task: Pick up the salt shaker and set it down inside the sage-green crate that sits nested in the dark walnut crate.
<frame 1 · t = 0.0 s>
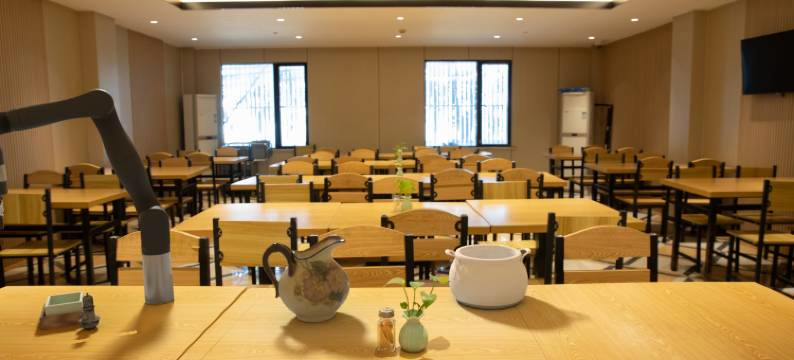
green crate: (66, 318, 191), point 1 cm above the table, touching walnut crate
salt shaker: (90, 331, 183), on the table
walnut crate: (66, 320, 191), on the table
pot: (487, 299, 206), on the table
pitcher: (313, 316, 192), on the table
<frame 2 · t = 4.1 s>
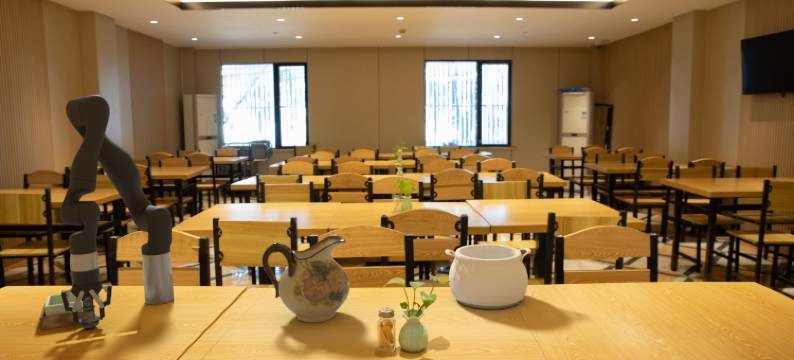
hand: (89, 320, 182), 3 cm above the table, fingers closed on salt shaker, 6 cm apart
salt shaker: (90, 331, 183), on the table, touching gripper
everything else where it was.
when the fingers open (7 cm above the table, at t = 9.2 s): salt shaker drops 3 cm, resting on green crate.
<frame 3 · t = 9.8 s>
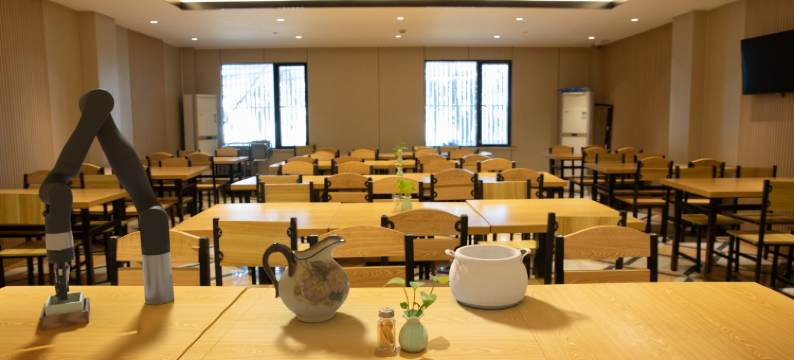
hand: (64, 296, 190), 8 cm above the table, fingers open, 8 cm apart
green crate: (66, 318, 191), point 1 cm above the table, touching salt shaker, walnut crate
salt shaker: (66, 316, 191), point 1 cm above the table, touching green crate
everything else where it was.
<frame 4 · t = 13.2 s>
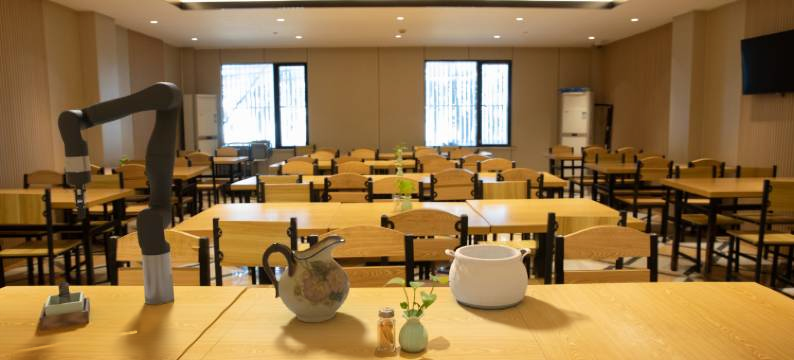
hand: (82, 216, 205), 30 cm above the table, fingers open, 8 cm apart
at the end: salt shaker inside the target area on the green crate (0.1 cm from its centre), point 0.4 cm above the green crate's base; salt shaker tilted 0°; green crate 0.0 cm off-centre on the walnut crate, point 0.8 cm above the walnut crate's base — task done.
